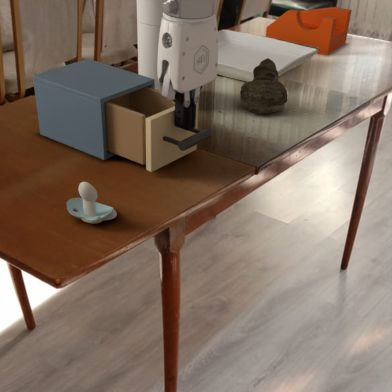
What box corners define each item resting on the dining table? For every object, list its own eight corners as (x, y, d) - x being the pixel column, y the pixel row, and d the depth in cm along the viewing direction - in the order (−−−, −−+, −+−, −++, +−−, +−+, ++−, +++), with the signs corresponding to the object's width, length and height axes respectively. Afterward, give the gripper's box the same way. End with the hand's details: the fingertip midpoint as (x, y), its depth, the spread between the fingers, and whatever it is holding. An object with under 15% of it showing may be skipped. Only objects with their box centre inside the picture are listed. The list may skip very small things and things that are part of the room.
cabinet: (155, 137, 118) (154, 79, 111) (104, 160, 110) (100, 99, 103) (92, 114, 125) (88, 58, 118) (40, 134, 117) (32, 75, 110)
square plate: (268, 93, 138) (270, 75, 136) (165, 68, 148) (165, 51, 146) (317, 63, 156) (320, 46, 153) (222, 42, 166) (223, 26, 163)
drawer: (219, 157, 110) (222, 107, 104) (174, 181, 103) (175, 128, 97) (132, 126, 119) (131, 78, 113) (85, 146, 112) (81, 96, 106)
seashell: (306, 74, 130) (266, 63, 134) (287, 52, 119) (243, 40, 124) (284, 128, 132) (245, 115, 137) (263, 110, 122) (221, 97, 126)
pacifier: (85, 203, 98) (62, 219, 94) (83, 165, 94) (58, 179, 90) (125, 215, 96) (103, 232, 91) (124, 177, 92) (101, 192, 87)
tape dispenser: (345, 43, 169) (351, 9, 164) (327, 55, 161) (333, 19, 156) (285, 31, 176) (289, -2, 171) (265, 42, 168) (268, 7, 162)
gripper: (176, 21, 86) (173, 148, 98) (238, 0, 94) (229, 120, 107) (135, 9, 89) (137, 134, 101) (199, -9, 98) (194, 108, 110)
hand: (184, 126), depth 104 cm, fingers closed
